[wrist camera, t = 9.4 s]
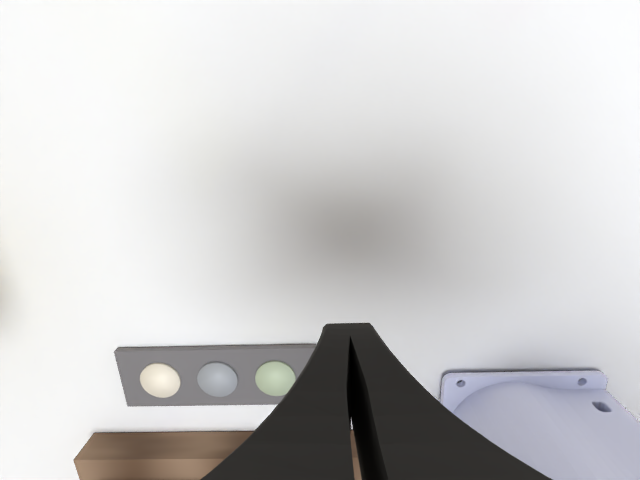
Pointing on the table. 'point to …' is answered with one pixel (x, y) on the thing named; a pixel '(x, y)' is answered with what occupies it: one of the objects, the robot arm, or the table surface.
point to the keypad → (162, 455)
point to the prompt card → (210, 374)
